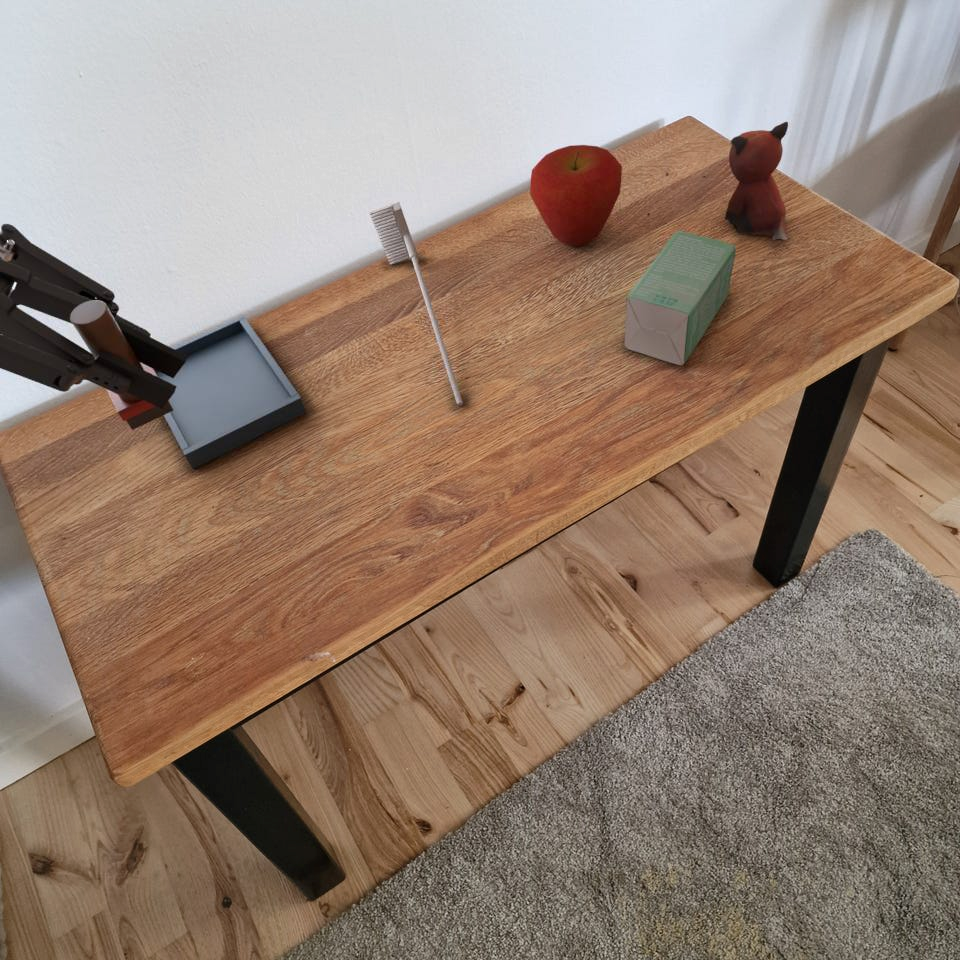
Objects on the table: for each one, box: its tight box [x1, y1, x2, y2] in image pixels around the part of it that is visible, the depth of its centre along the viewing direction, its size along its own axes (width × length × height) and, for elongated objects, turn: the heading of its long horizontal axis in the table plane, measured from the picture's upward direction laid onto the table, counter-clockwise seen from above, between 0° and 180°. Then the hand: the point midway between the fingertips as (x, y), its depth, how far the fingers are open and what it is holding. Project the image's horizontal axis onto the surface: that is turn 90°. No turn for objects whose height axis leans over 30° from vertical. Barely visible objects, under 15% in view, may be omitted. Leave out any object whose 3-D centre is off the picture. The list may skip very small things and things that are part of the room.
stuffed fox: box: [724, 121, 789, 242], centre depth 99 cm, size 8×11×12 cm
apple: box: [529, 144, 623, 248], centre depth 102 cm, size 11×11×12 cm
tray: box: [154, 314, 307, 469], centre depth 94 cm, size 18×14×2 cm
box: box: [623, 231, 737, 366], centre depth 92 cm, size 7×14×8 cm, turn 149°
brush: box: [369, 201, 464, 407], centre depth 96 cm, size 4×28×9 cm, turn 13°
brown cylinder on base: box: [70, 300, 173, 431], centre depth 72 cm, size 8×4×12 cm, turn 32°
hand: (174, 382), depth 73 cm, fingers closed on brown cylinder on base, 3 cm apart
